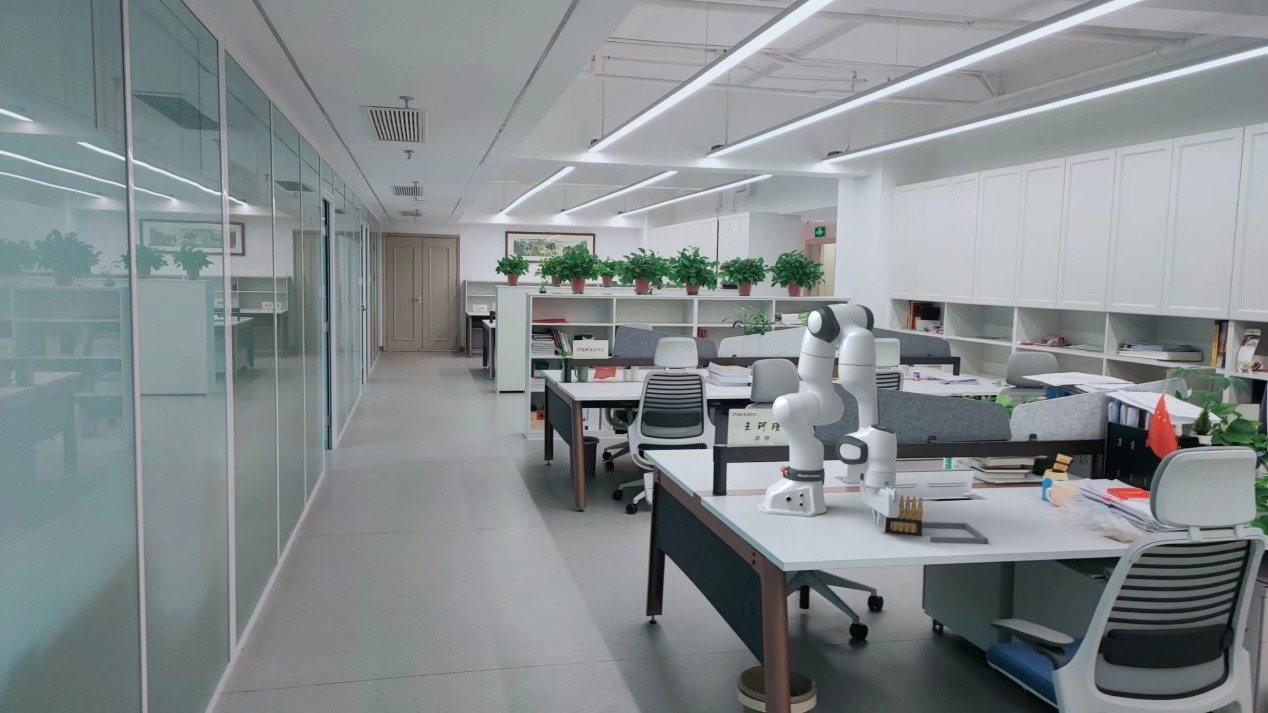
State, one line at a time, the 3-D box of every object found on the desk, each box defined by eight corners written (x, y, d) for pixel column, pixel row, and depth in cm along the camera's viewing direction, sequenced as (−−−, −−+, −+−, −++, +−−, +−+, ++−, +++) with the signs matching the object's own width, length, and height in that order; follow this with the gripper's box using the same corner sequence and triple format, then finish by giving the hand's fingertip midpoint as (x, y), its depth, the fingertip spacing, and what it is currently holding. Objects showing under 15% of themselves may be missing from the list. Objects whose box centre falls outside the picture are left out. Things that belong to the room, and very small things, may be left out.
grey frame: (930, 543, 251) (931, 537, 251) (913, 527, 268) (913, 521, 268) (987, 544, 250) (988, 538, 250) (966, 528, 267) (966, 522, 267)
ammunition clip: (921, 535, 259) (923, 496, 258) (922, 537, 257) (924, 497, 256) (884, 532, 262) (886, 493, 261) (884, 533, 260) (886, 494, 259)
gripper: (906, 487, 248) (904, 534, 249) (876, 472, 268) (874, 515, 269) (885, 487, 247) (883, 534, 248) (856, 472, 267) (855, 516, 268)
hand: (878, 524), depth 259 cm, fingers closed
